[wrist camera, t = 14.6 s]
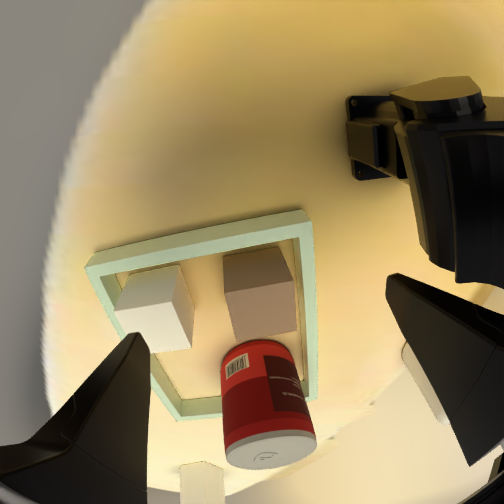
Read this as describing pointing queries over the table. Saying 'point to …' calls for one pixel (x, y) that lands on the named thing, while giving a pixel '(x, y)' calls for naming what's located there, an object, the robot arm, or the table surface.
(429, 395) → the pill bottle
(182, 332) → the white block
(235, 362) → the canned food
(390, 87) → the table surface
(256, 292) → the brown carton
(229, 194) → the table surface
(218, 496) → the milk
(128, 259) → the mint green rectangular frame
